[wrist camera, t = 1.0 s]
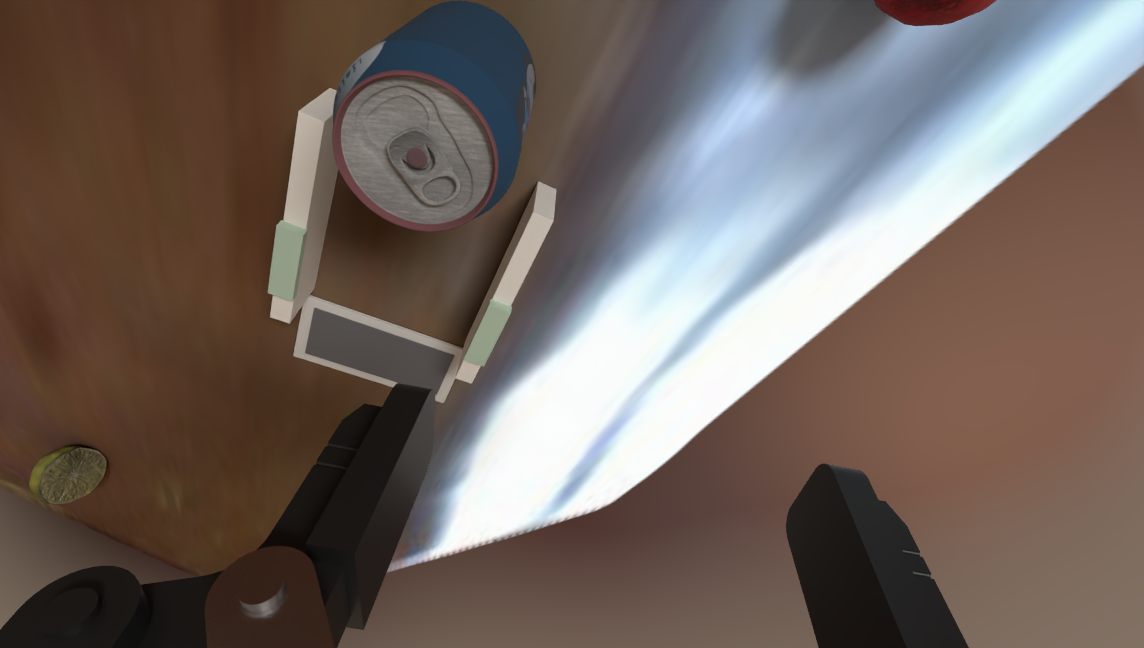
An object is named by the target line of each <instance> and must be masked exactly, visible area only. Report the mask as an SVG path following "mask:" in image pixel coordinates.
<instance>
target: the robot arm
mask: <svg viewBox="0 0 1144 648" xmlns="http://www.w3.org/2000/svg"><path fill="white" fill-rule="evenodd" d="M434 422H435V391H434V390H433V389H427V388H422V387H417V386H411V385H406V384H400V383H397V384H396V385H395V386H394V387H393V389H392V390H391V392H390V394H389V396H388V397H387V399H386V401H385V403H384V405H383V406H382V407H379V406H374V405H368V404H363V405H362V406H361V407H359V408H358V409H357V410H355V411H354V412H353V413H351V414H350V415H349V416H347V417H346V418H345V419H343V420H342V421H341V423H340V425H339V426H338V428H337V429H336V431H335V432H334V434H333V436H332V437H331V439H330V440H329V442H328V446H327V447H325V448H324V450H323V451H322V453H321V455H320V456H319V458H318V459H317V463H316V465H314V466H313V467H312V469H311V470H310V472H309V474H308V475H307V477H306V478H305V480H304V481H303V483H302V485H301V486H300V488H299V489H298V491H297V492H296V494H295V496H294V497H293V499H292V500H291V502H290V504H289V505H288V507H287V508H286V510H285V511H284V513H283V515H282V516H281V518H280V519H279V521H278V523H277V524H276V526H275V527H274V529H273V530H272V532H271V534H270V535H269V536H268V538H267V539H266V540H265V542H264V543H263V544H262V545H261V546H260V547H259V548H258V549H257V550H255V551H253V552H251V553H248V554H246V555H244V556H243V557H241V558H239V559H238V560H236V561H235V562H233V563H232V564H231V565H229V566H228V567H227V568H226V569H225V570H223V571H220V572H217V573H214V574H210V575H205V576H200V577H194V578H186V579H179V580H172V581H165V582H157V583H151V584H143V585H140V583H139V582H138V580H137V579H136V577H135V576H134V575H133V574H132V573H131V572H129V571H128V570H125V569H123V568H120V567H115V566H97V567H91V568H87V569H82V570H79V571H76V572H73V573H71V574H68V575H66V576H64V577H62V578H60V579H58V580H56V581H54V582H52V583H50V584H49V585H47V586H46V587H44V588H43V589H41V590H40V591H39V592H37V593H36V594H34V595H33V596H32V597H31V598H30V599H28V601H26V602H25V603H24V604H23V605H22V606H21V607H20V608H19V609H18V610H17V611H16V612H15V614H14V615H13V616H12V617H11V618H10V619H9V621H8V622H7V623H6V624H5V625H4V626H3V627H2V629H1V630H0V648H337V647H338V644H339V642H340V639H341V637H342V635H343V633H344V630H345V628H346V627H350V628H356V629H362V630H363V629H364V627H365V625H366V622H367V620H368V618H369V615H370V612H371V610H372V607H373V605H374V603H375V600H376V597H377V595H378V592H379V590H380V587H381V585H382V582H383V580H384V577H385V575H386V572H387V570H388V567H389V565H390V562H391V560H392V557H393V555H394V552H395V550H396V547H397V545H398V542H399V540H400V537H401V535H402V532H403V530H404V527H405V525H406V522H407V520H408V517H409V515H410V512H411V510H412V507H413V505H414V502H415V500H416V497H417V495H418V492H419V490H420V487H421V485H422V482H423V480H424V477H425V475H426V472H427V469H428V466H429V463H430V460H431V455H432V451H433V445H434ZM786 532H787V538H788V542H789V545H790V549H791V552H792V556H793V559H794V563H795V566H796V570H797V573H798V576H799V580H800V584H801V587H802V591H803V594H804V598H805V601H806V605H807V608H808V612H809V615H810V618H811V622H812V626H813V629H814V633H815V636H816V640H817V643H818V647H819V648H969V647H968V645H967V643H966V641H965V639H964V638H963V635H962V634H961V632H960V630H959V628H958V626H957V624H956V622H955V620H954V618H953V616H952V614H951V612H950V610H949V608H948V606H947V604H946V602H945V600H944V598H943V596H942V594H941V592H940V590H939V588H938V586H937V584H936V582H935V580H934V579H931V577H930V575H931V572H930V571H929V569H928V567H927V565H926V563H925V561H924V559H923V558H922V557H920V555H919V554H920V551H919V549H918V547H917V545H916V543H915V541H914V539H913V537H912V535H911V533H910V531H909V529H908V527H907V525H906V524H905V523H904V522H903V521H902V520H901V519H900V518H899V516H898V515H897V514H896V513H895V512H894V511H893V510H892V508H891V507H890V506H889V505H888V504H887V503H886V502H885V501H880V500H878V498H877V496H876V494H875V492H874V490H873V488H872V486H871V484H870V481H869V479H868V478H867V476H866V475H865V474H864V473H863V472H862V471H860V470H855V469H850V468H844V467H839V466H834V465H828V464H821V465H819V466H818V467H817V468H816V469H815V471H814V472H813V474H812V475H811V476H810V478H809V480H808V481H807V483H806V484H805V486H804V487H803V489H802V491H801V492H800V493H799V495H798V496H797V498H796V499H795V501H794V503H793V504H792V506H791V507H790V509H789V512H788V515H787V522H786Z"/></svg>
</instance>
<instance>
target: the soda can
mask: <svg viewBox="0 0 1144 648" xmlns="http://www.w3.org/2000/svg"><path fill="white" fill-rule="evenodd" d="M535 91H536V76H535V69H534V65H533V61H532V58H531V55H530V52H529V50H528V48H527V46H526V44H525V42H524V40H523V39H522V37H521V36H520V34H519V33H518V32H517V30H516V29H515V28H514V27H513V26H512V25H511V24H510V23H509V22H508V21H507V20H506V19H505V18H504V17H502V16H501V15H500V14H498V13H497V12H495V11H493V10H491V9H489V8H488V7H485V6H483V5H480V4H477V3H473V2H467V1H450V2H444V3H441V4H438V5H435V6H433V7H431V8H429V9H427V10H426V11H424V12H423V13H421V14H420V15H419V16H417V17H416V18H414V19H413V20H411V21H410V22H408V23H407V24H406V25H404V26H403V27H401V28H400V29H398V30H397V31H396V32H394V33H393V34H391V35H390V36H388V37H387V38H385V39H384V40H383V41H381V42H380V43H378V44H377V45H375V46H374V47H373V48H371V49H370V50H368V51H367V52H365V53H364V54H363V55H361V56H360V57H359V58H358V59H357V60H355V61H354V62H353V64H352V65H351V66H350V67H349V68H348V70H347V71H346V72H345V74H344V76H343V77H342V79H341V82H340V84H339V86H338V89H337V92H336V96H335V100H334V106H333V132H332V141H333V150H334V156H335V160H336V163H337V166H338V168H339V171H340V173H341V175H342V177H343V179H344V180H345V182H346V184H347V185H348V187H349V188H350V189H351V191H352V192H353V193H354V194H355V195H356V197H357V198H358V199H359V200H360V201H361V202H362V203H363V204H364V205H365V206H367V207H368V208H369V209H370V210H371V211H373V212H374V213H376V214H377V215H378V216H380V217H382V218H383V219H385V220H387V221H389V222H391V223H393V224H395V225H398V226H401V227H404V228H407V229H411V230H416V231H425V232H436V231H444V230H449V229H453V228H456V227H458V226H461V225H463V224H465V223H467V222H468V221H470V220H471V219H473V218H476V217H478V216H480V215H482V214H484V213H485V212H487V211H488V210H489V209H491V208H492V207H493V206H494V205H495V204H497V203H498V202H499V200H500V199H501V198H502V197H503V196H504V194H505V193H506V192H507V190H508V188H509V187H510V185H511V183H512V181H513V178H514V176H515V172H516V169H517V165H518V161H519V157H520V153H521V150H522V146H523V142H524V138H525V134H526V130H527V126H528V122H529V118H530V114H531V110H532V106H533V102H534V98H535Z"/></svg>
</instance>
